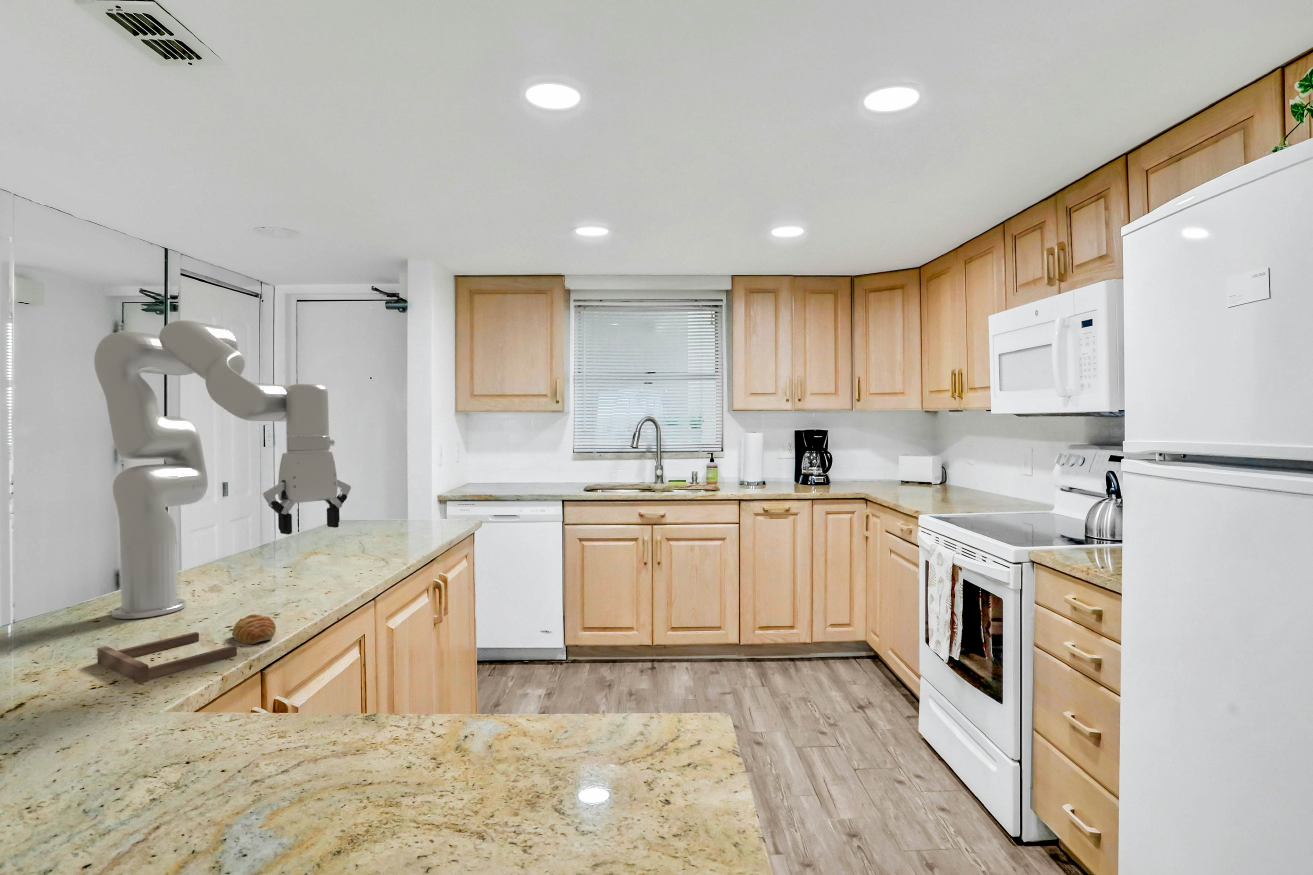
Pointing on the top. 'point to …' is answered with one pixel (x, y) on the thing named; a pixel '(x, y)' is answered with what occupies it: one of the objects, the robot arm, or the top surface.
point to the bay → (139, 670)
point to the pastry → (254, 629)
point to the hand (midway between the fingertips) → (310, 530)
